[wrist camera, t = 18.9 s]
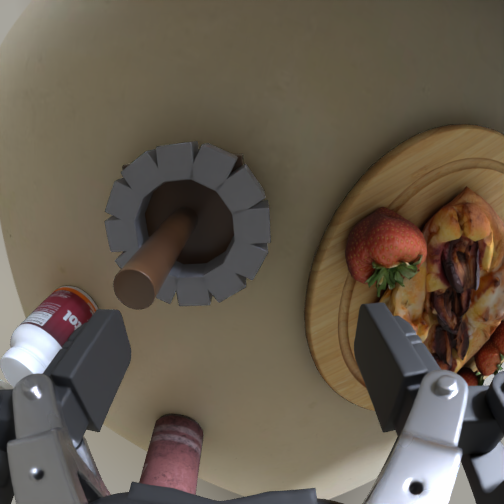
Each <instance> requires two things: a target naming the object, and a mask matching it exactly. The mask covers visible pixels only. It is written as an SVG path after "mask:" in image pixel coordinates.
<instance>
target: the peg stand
mask: <svg viewBox="0 0 504 504" xmlns="http://www.w3.org/2000/svg"><path fill="white" fill-rule="evenodd" d="M233 155H235V156H237V157H238V159H237V161H236V163H235V165H234V167H233V169H232V171H231V173H232V172H233V171H235V170H236V169H238V168H239V167H241V166H243V154H233ZM130 164H131V163H129V164H126V165H123V166H122V168H123V170H124V169H125V168H126V167H127V166H129V165H130ZM145 218H146V224H147V231H148V236H149V238H148V240H147V241H146V242H145V243H144V244H143V245H142V246H141V247H140V248H139V250H138V251H137V252H136V253H135V254H134V255H133V256H132V257H131V259H130V260H129V261H128V262H127V263H126V264H125V265H124V267H123V268H122V269H121V270H120V271H119V272H118V274H117V275H116V276H115V278H114V283H113V287H114V292H115V294H116V296H117V298H118V299H119V300H120V301H121V302H122V303H123V304H124V305H126V306H127V307H129V308H132V309H145V308H147V307H149V306H150V305H151V304H152V303H153V302H154V300H155V298H156V296H157V294H158V292H159V291H160V289H161V287H162V285H163V283H164V281H165V280H166V278H167V276H168V274H169V272H170V271H171V269H172V267H173V265H174V263H175V262H176V261H177V262H180V263H182V264H203V263H208V262H209V261H211V260H212V259H214V258H216V257H217V256H219V255H220V254H222V253H224V252H225V251H226V250H227V248H228V246H229V244H230V242H231V240H232V238H233V236H234V228H233V216H232V213H231V211H230V210H229V209H228V207H227V206H226V204H225V203H224V202H223V200H222V199H221V197H220V196H219V194H218V193H217V192H216V191H215V190H213V189H210V188H208V187H206V186H204V185H202V184H200V183H197V182H195V181H193V180H191V179H190V180H180V181H170V182H165V183H164V184H163V185H161V186H160V187H159V188H157V189H156V190H155V191H153V194H152V196H151V199H150V201H149V204H148V206H147V209H146V212H145Z"/></svg>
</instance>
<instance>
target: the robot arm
mask: <svg viewBox="0 0 504 504" xmlns="http://www.w3.org/2000/svg"><path fill="white" fill-rule="evenodd" d="M67 340H68V341H66V342H65V343H64V345H63V346H62V349H60V350H59V352H58V353H57V354H56V356H55V357H54V358H53V360H52V361H51V363H50V364H49V365H48V367H47V368H46V370H45V371H44V372H43V374H40V373H36V374H31V375H28V376H26V377H24V378H22V379H21V380H20V381H19V382H18V383H17V384H16V385H15V387H14V389H4V390H0V504H11V502H12V499H13V496H14V495H15V500H16V504H343V503H339V502H336V501H331V500H326V499H317V496H316V489H315V488H310V489H300V490H287V491H269V492H265V493H260V494H256V495H251V496H247V497H242V498H237V499H232V500H226V501H215V500H211V499H208V498H204V497H200V496H197V495H194V494H191V493H188V492H184V491H181V490H178V489H175V488H171V487H163V486H155V485H149V484H143V483H136V482H132V483H131V487H130V490H129V492H125V493H117V494H113V495H111V494H110V492H109V491H108V490H107V488H106V486H105V485H104V483H103V481H102V478H101V476H100V474H99V471H98V469H97V467H96V464H95V462H94V459H93V457H92V454H91V452H90V449H89V446H88V444H87V441H86V439H85V438H84V436H83V435H84V433H85V431H86V430H92V431H96V432H100V430H101V427H102V425H103V422H104V420H105V418H106V415H107V413H108V411H109V408H110V406H111V404H112V402H113V399H114V397H115V395H116V393H117V390H118V388H119V386H120V384H121V381H122V379H123V377H124V375H125V373H126V370H127V368H128V366H129V364H130V361H131V347H130V343H129V340H128V336H127V333H126V329H125V326H124V322H123V318H122V315H121V313H120V311H119V310H109V309H98V310H96V312H95V313H94V314H93V315H92V317H91V318H90V319H89V321H88V322H87V323H86V322H85V323H84V324H83V325H81V326H80V327H78V328H77V329H75V330H74V331H73V333H72V334H71V335H70V337H69V338H68V339H67ZM354 355H355V359H356V362H357V365H358V367H359V370H360V372H361V375H362V378H363V380H364V383H365V385H366V388H367V391H368V393H369V396H370V399H371V401H372V404H373V407H374V409H375V412H376V415H377V417H378V420H379V423H380V426H381V429H382V431H383V432H388V431H393V430H396V433H397V435H398V437H397V439H396V441H395V443H394V445H393V447H392V450H391V452H390V454H389V456H388V458H387V460H386V462H385V464H384V466H383V468H382V470H381V472H380V474H379V475H378V477H377V479H376V481H375V483H374V485H373V487H372V488H371V490H370V492H369V494H368V495H367V497H366V498H365V500H364V502H363V503H362V504H448V501H449V498H450V495H451V492H452V489H453V486H454V483H455V480H456V476H457V473H458V469H459V466H460V462H462V465H463V468H464V470H465V473H466V476H467V478H468V481H469V483H470V486H471V489H472V492H473V495H474V498H475V501H476V504H504V447H503V445H502V443H501V439H502V438H503V437H504V371H502V372H499V373H497V374H496V375H495V376H494V378H493V380H492V382H491V384H490V386H468V385H467V383H466V381H465V380H464V379H463V378H462V377H461V376H460V375H458V374H457V373H454V372H452V371H449V370H441V368H440V367H439V365H438V364H437V362H436V361H435V359H434V358H433V356H432V355H431V353H430V352H429V350H428V349H427V347H426V346H425V344H424V343H422V340H421V339H420V337H419V336H418V335H417V334H416V331H415V330H414V329H413V327H412V326H411V324H410V323H409V322H407V321H406V320H404V319H403V318H401V317H400V316H393V315H392V313H391V312H390V310H389V309H388V307H387V306H386V305H385V303H383V302H380V303H369V304H362V305H361V306H360V309H359V315H358V321H357V328H356V334H355V340H354Z"/></svg>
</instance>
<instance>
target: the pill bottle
mask: <svg viewBox="0 0 504 504" xmlns="http://www.w3.org/2000/svg"><path fill="white" fill-rule="evenodd" d="M96 310H98V307H97V305H96V304H95V302H94V301H93V300H92V298H91V297H90V296H89V295H88V294H86V293H85V292H84V291H82V290H81V289H79V288H77V287H73V286H63V287H60V288H58V289H56V290H55V291H54V292H53V293H52V294H51V295H50V296H49V297H47V298H46V299H45V300H44V301H43V302H42V303H41V304H40V305H39V306H38V307H37V308H36V309H35V310H34V311H33V312H32V313H31V314H30V315H29V316H28V317H27V318H26V319H25V320H24V321H23V322H22V323H21V324H20V325H19V326H18V328H16V329H15V331H14V332H13V334H12V336H11V344H10V345H11V348H10V349H9V350H7V352H6V353H5V354H4V356H3V357H2V358H1V361H0V367H1V370H2V372H3V374H4V376H5V378H6V379H7V381H8V382H9V383H10V384H11V385H12V387H13V388H14V387H15V385H16V384H17V383H18V382H19V381H20V380H21V379H22V378H24V377H26V376H28V375H31V374H36V373H40V374H43V372H44V371H45V370H46V368H47V367H48V365H49V364H50V363H51V361H52V360H53V358H54V357H55V356H56V354H57V353H58V352H59V350H60V349H62V346H63V345H64V343H65V342H66V341H68V340H67V339H68V338H69V337H70V335H71V334H72V333H73V331H74V330H75V329H77V328H78V327H80V326H81V325H83V324H84V323H85V322H86V323H87V322H88V321H89V319H90V318H91V317H92V315H93V314H94V313H95V312H96Z"/></svg>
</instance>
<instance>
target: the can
mask: <svg viewBox="0 0 504 504" xmlns="http://www.w3.org/2000/svg"><path fill="white" fill-rule="evenodd" d="M202 443H203V430H202V429H201V427H200V425H199V424H198V423H197V422H196V421H194V420H193V419H191V418H189V417H186V416H183V415H177V414H168V415H165V416H162V417H161V418H160V419H158V420H157V421H156V423H155V426H154V430H153V434H152V437H151V441H150V444H149V448H148V452H147V455H146V459H145V463H144V467H143V470H142V475H141V478H140V482H139V483H143V484H149V485H155V486H163V487H171V488H175V489H178V490H181V491H184V492H188V493H191V494H194V495H196V486H197V479H198V472H199V464H200V457H201V450H202Z"/></svg>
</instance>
